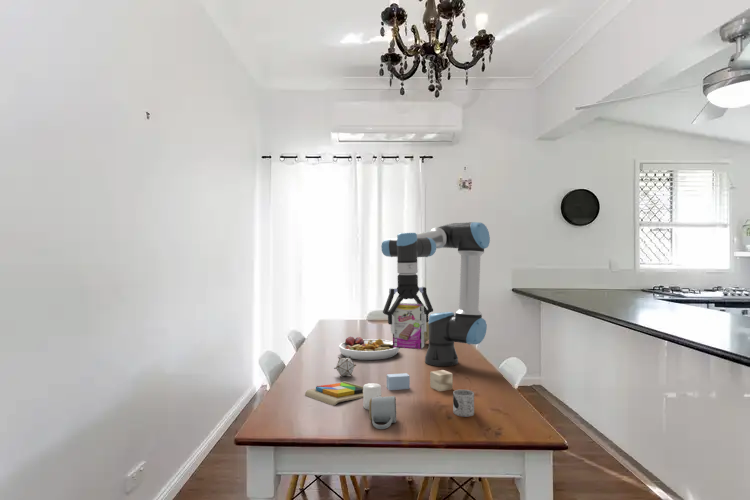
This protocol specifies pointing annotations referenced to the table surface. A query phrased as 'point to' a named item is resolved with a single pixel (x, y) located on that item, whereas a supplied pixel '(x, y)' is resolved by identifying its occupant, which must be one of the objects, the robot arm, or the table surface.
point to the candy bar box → (409, 326)
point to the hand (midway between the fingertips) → (408, 332)
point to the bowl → (367, 348)
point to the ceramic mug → (382, 411)
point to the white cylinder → (370, 393)
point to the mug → (463, 403)
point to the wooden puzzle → (336, 392)
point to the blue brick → (398, 381)
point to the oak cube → (441, 380)
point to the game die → (345, 366)
